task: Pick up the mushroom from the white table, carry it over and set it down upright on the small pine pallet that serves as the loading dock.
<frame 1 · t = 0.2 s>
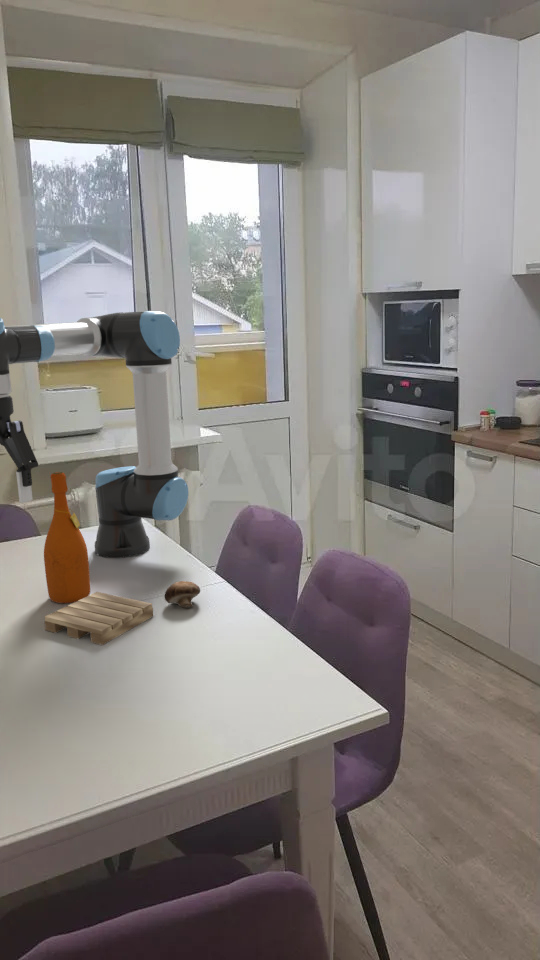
hand: (4, 498, 154), 28 cm above the table, fingers open, 13 cm apart
pallet: (100, 623, 159), on the table
mushroom: (183, 606, 167), on the table
wine bottle: (70, 598, 174), on the table
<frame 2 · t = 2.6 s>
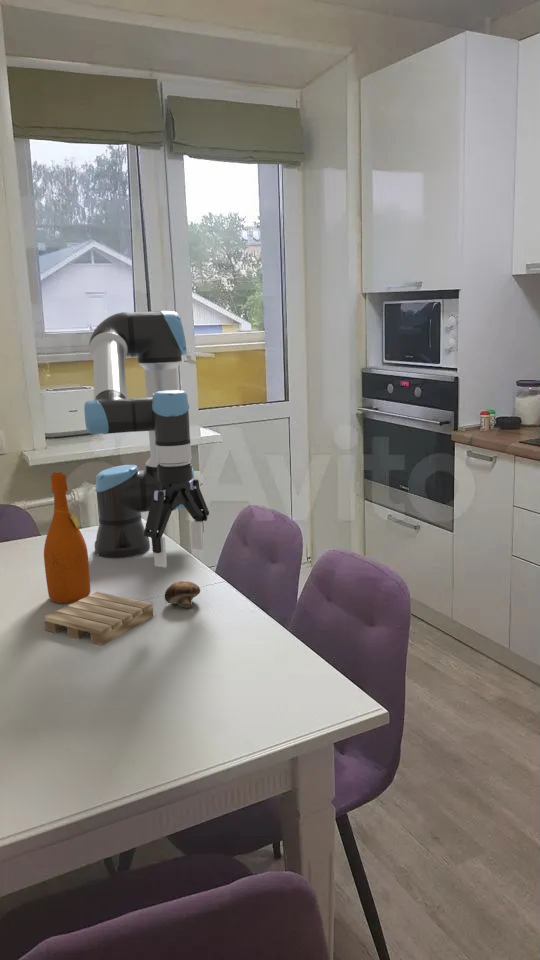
hand: (180, 557, 164), 11 cm above the table, fingers open, 13 cm apart
nothing on the table moved.
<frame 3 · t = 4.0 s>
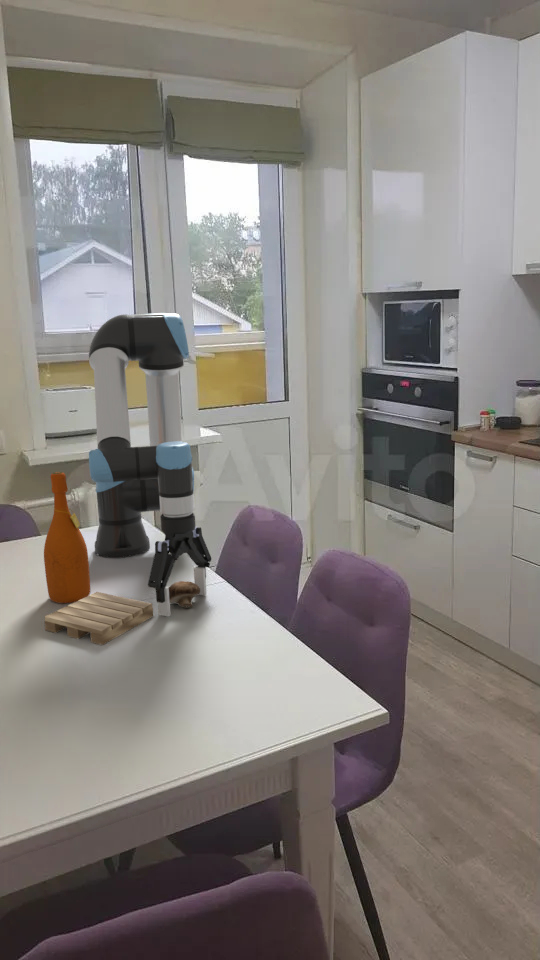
hand: (183, 604, 167), 0 cm above the table, fingers open, 13 cm apart
nothing on the table moved.
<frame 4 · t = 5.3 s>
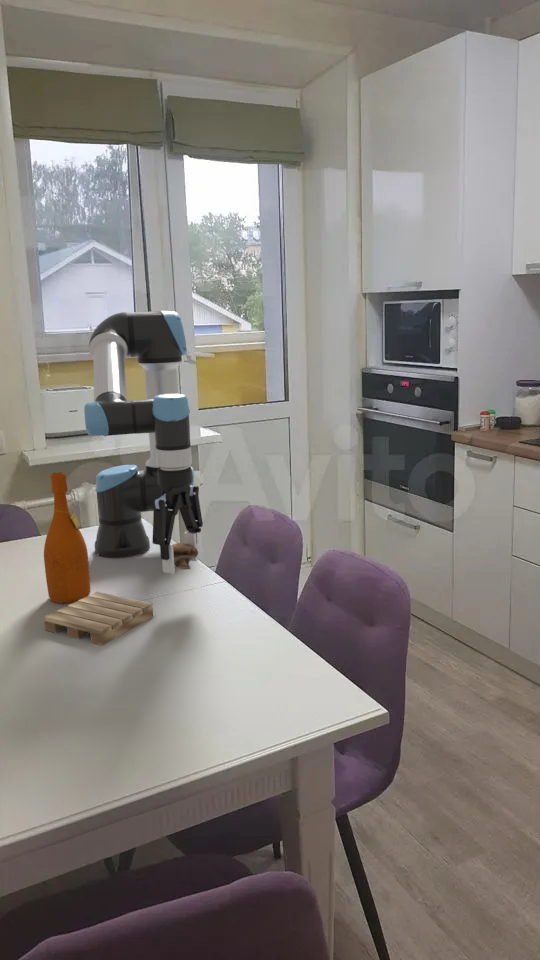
hand: (180, 565, 166), 9 cm above the table, fingers closed on mushroom, 8 cm apart
mushroom: (180, 568, 166), point 8 cm above the table, touching gripper
everything else where it was.
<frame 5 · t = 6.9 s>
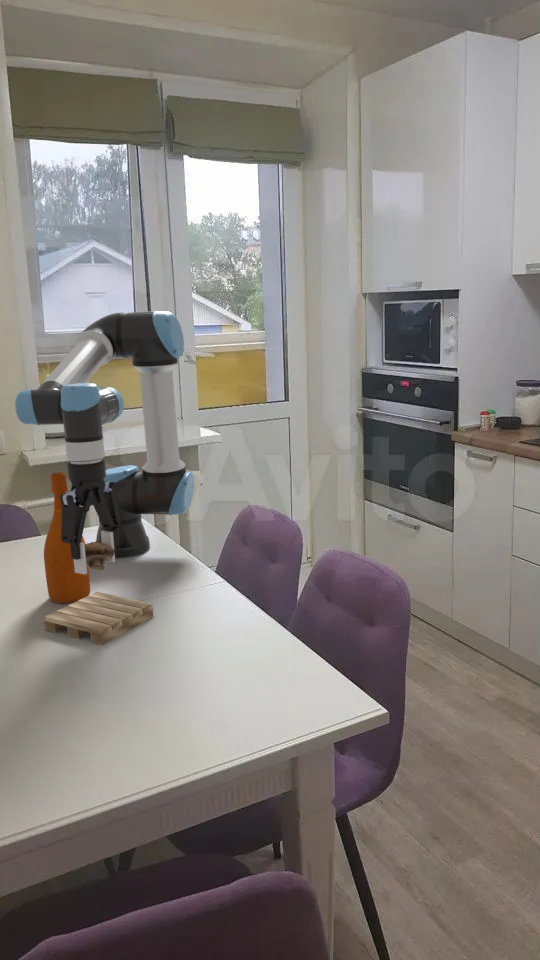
hand: (95, 566, 156), 13 cm above the table, fingers closed on mushroom, 8 cm apart
mushroom: (95, 569, 156), point 12 cm above the table, touching gripper
everything else where it was.
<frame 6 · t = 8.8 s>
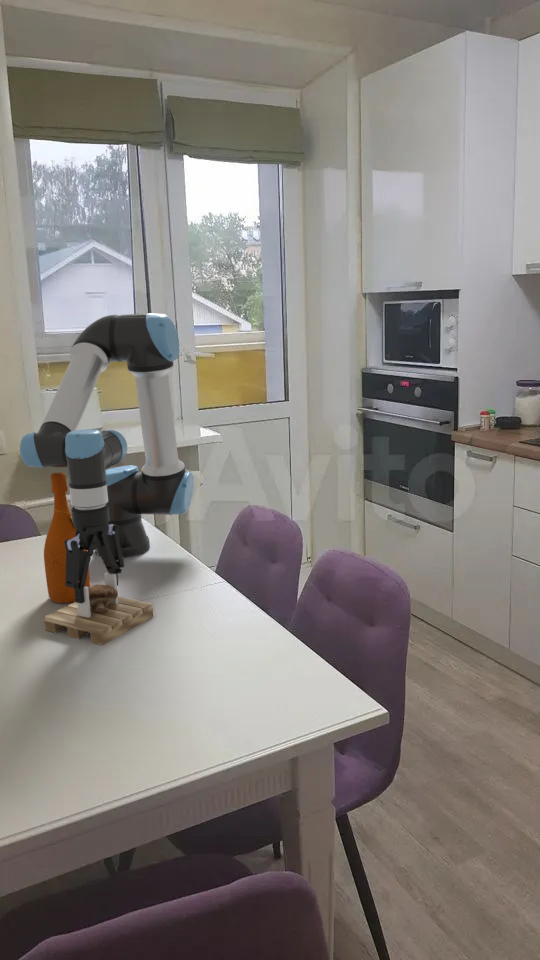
hand: (99, 608, 158), 3 cm above the table, fingers closed on mushroom, 8 cm apart
mushroom: (99, 610, 158), point 3 cm above the table, touching gripper, pallet
everything else where it was.
when the fingers open (3 cm above the table, at t = 9.0 s): mushroom stays where it is, resting on pallet.
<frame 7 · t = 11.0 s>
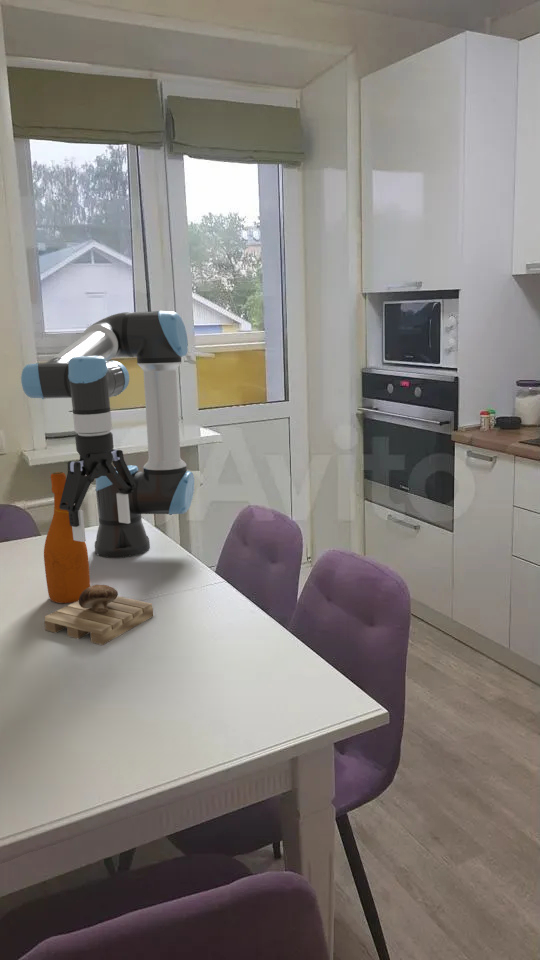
hand: (102, 531, 157), 19 cm above the table, fingers open, 13 cm apart
mushroom: (99, 610, 158), point 3 cm above the table, touching pallet
everything else where it was.
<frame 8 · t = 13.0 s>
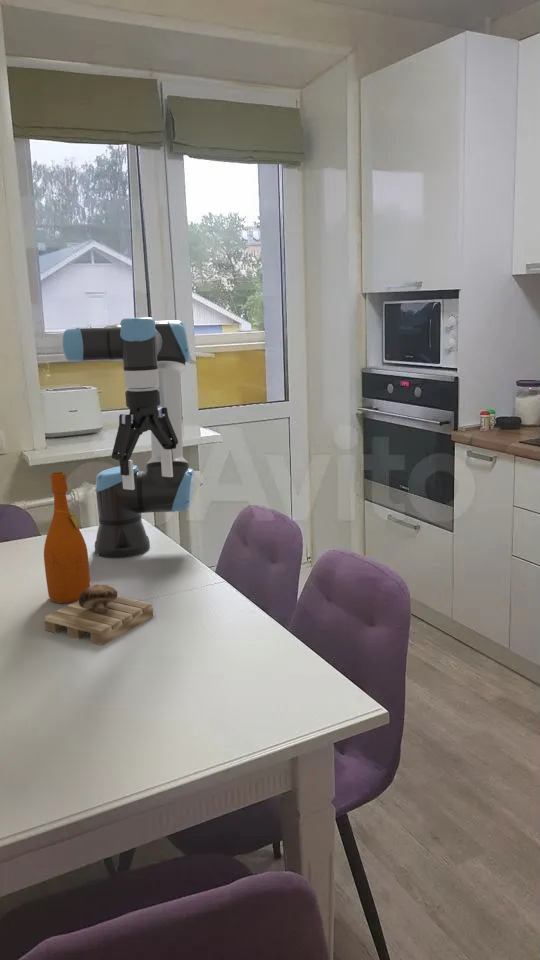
hand: (148, 482, 169), 27 cm above the table, fingers open, 13 cm apart
nothing on the table moved.
at the end: mushroom inside the target area on the pallet (0.1 cm from its centre), point 2.8 cm above the pallet's base; mushroom tilted 0°; the gripper is holding nothing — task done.
